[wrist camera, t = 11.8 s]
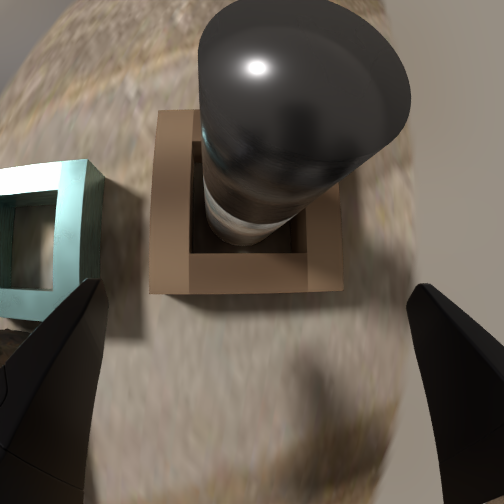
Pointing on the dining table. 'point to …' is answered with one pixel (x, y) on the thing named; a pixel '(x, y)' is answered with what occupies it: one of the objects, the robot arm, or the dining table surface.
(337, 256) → the frame
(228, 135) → the grey and white cylinder
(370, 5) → the dining table surface
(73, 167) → the socket block
